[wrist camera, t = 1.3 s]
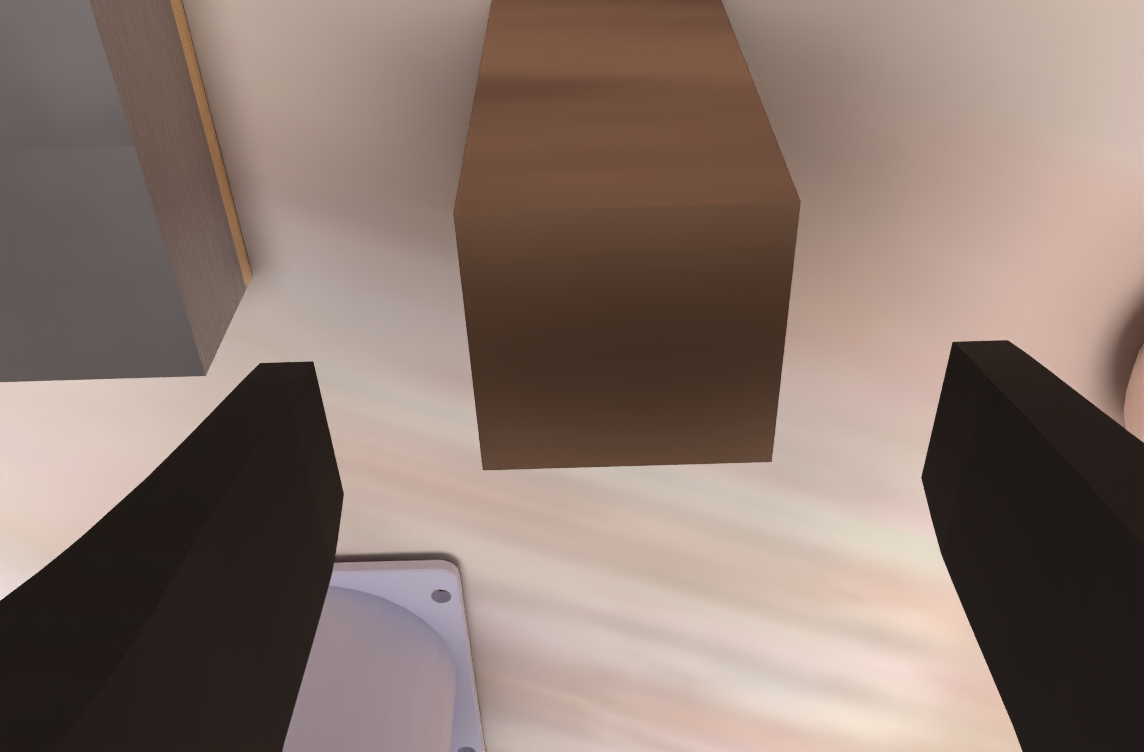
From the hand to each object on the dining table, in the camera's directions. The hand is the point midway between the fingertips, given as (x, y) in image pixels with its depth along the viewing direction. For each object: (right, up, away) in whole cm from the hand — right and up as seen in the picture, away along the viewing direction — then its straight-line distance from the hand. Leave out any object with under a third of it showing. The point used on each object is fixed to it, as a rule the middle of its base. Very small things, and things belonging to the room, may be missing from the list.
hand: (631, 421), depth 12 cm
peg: (0, +6, +8) cm, 10 cm away
